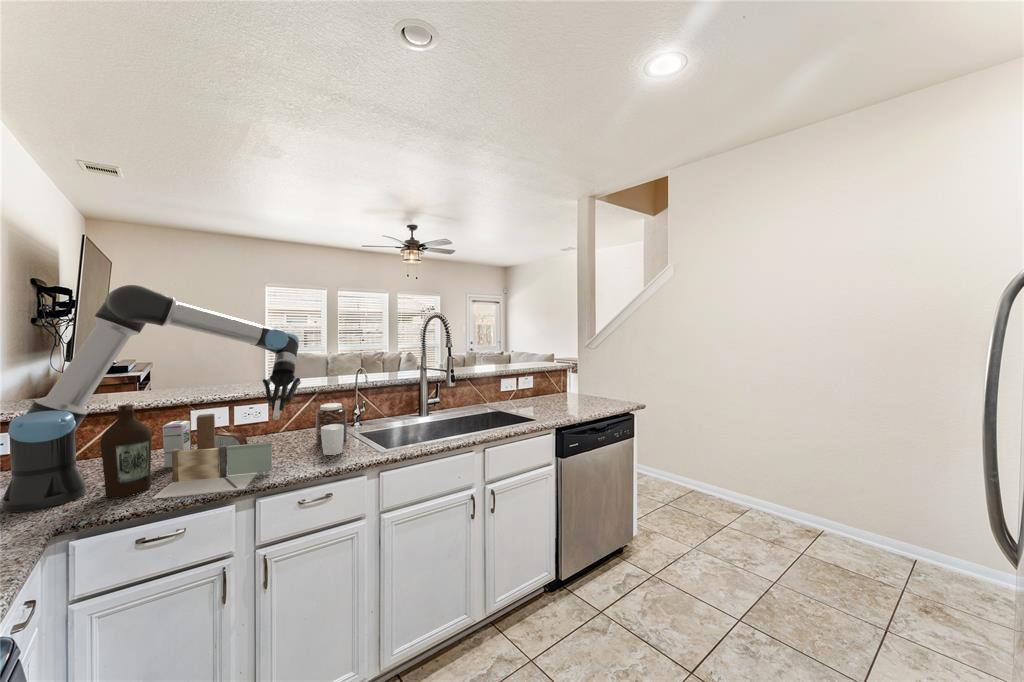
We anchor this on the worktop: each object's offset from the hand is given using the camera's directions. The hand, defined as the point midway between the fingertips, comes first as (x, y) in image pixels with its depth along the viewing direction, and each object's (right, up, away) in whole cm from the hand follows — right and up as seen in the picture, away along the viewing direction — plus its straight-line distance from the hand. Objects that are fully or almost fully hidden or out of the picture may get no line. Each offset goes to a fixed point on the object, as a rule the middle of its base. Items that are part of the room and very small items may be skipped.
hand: (276, 417), depth 146 cm
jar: (+10, -14, +22) cm, 28 cm away
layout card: (-6, -16, -24) cm, 29 cm away
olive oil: (-26, -16, -29) cm, 42 cm away
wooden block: (-19, -15, -12) cm, 27 cm away
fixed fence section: (-12, -15, -20) cm, 28 cm away
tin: (-19, -15, +4) cm, 25 cm away
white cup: (+18, -15, +6) cm, 24 cm away
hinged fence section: (+1, -15, -16) cm, 22 cm away
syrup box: (-30, -15, -6) cm, 34 cm away
